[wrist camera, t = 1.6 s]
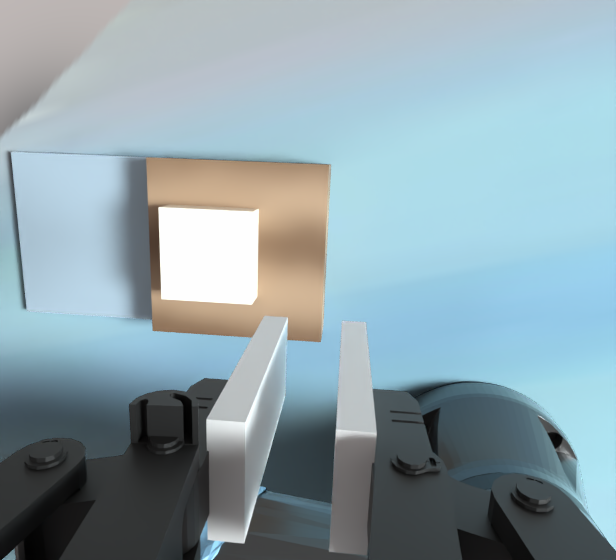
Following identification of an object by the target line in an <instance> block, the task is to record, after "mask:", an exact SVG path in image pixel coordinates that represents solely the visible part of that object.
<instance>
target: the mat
mask: <svg viewBox="0 0 616 560" xmlns="http://www.w3.org/2000/svg"><path fill="white" fill-rule="evenodd" d="M11 158H12V168H13V178H14V188H15V198H16V208H17V218H18V228H19V238H20V248H21V258H22V268H23V278H24V288H25V298H26V308H27V311H29V312H44V313H59V314H75V315H90V316H106V317H121V318H136V319H152V298H151V271H150V244H149V217H148V191H147V164H146V157H130V156H105V155H81V154H56V153H31V152H11ZM150 158H155V157H150Z"/></svg>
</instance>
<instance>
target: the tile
mask: <svg viewBox="0 0 616 560" xmlns="http://www.w3.org/2000/svg"><path fill="white" fill-rule="evenodd" d="M258 223H259V209H252V208H231V207H210V206H189V205H166V206H162V207H159V238H160V269H161V299H167V300H183V301H200V302H216V303H232V304H248V305H252V304H253V302H254V301H255V299H256V298H257V289H258Z"/></svg>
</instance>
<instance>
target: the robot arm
mask: <svg viewBox="0 0 616 560" xmlns="http://www.w3.org/2000/svg"><path fill="white" fill-rule="evenodd" d="M287 329H288V317H275V316H264V317H263V319H262V321H261V323H260V325H259V326H258V328H257V330H256V332H255V334H254V335H253V337H252V339H251V341H250V342H249V344H248V346H247V348H246V350H245V351H244V353H243V355H242V357H241V358H240V360H239V362H238V364H237V366H236V367H235V369H234V371H233V373H232V375H231V376H230V378H229V380H221V379H208V378H204V379H203V380H201V381H199V382H197V383H196V384H194V385H192V386H191V387H190V388H189V390H188V391H187V392H185V391H177V390H163V391H156V392H152V393H147V394H145V395H143V396H140V397H138V398H136V399H135V400H134V401H132V402H131V403H130V404H129V412H130V432H131V444H130V445H129V447H128V449H127V450H126V452H125V454H124V455H120V456H114V457H106V458H98V459H89V460H86V448H85V447H84V446H83V444H82V443H81V442H79V441H76V440H73V439H65V438H52V439H45V440H41V441H40V442H37V443H33V444H30V445H28V446H26V447H24V448H22V449H21V450H19V451H17V452H15V453H14V454H12V455H11V456H10V457H8V458H7V459H5V460H4V461H2V462H1V463H0V560H2V559H3V558H4V557H5V556H6V555H7V554H8V553H10V552H11V551H12V550H13V549H14V548H15V555H16V560H616V551H615V549H614V548H613V547H612V546H611V545H610V544H609V542H608V541H607V539H606V538H605V537H604V535H603V534H602V532H601V531H600V530H599V528H598V527H597V525H596V524H595V522H594V521H593V520H592V518H591V517H590V515H589V513H588V508H587V502H586V497H585V492H584V486H583V481H582V476H581V471H580V466H579V462H578V459H577V457H576V454H575V452H574V449H573V447H572V445H571V444H570V442H569V440H568V438H567V437H566V435H565V434H564V433H563V431H562V430H561V429H560V428H559V426H558V425H557V424H556V422H555V421H554V420H553V419H552V417H551V416H550V415H549V414H548V413H547V412H546V411H545V410H544V409H543V408H542V407H541V406H539V405H538V404H537V403H536V402H534V401H533V400H531V399H530V398H528V397H526V396H525V395H523V394H521V393H519V392H516V391H514V390H511V389H509V388H506V387H502V386H498V385H493V384H487V383H458V384H452V385H447V386H443V387H439V388H436V389H433V390H431V391H428V392H426V393H424V394H422V395H420V396H418V397H416V398H413V397H412V396H411V395H410V394H409V393H408V392H406V391H392V390H378V389H372V379H371V369H370V359H369V348H368V338H367V328H366V322H354V321H342V329H341V346H340V363H339V380H338V397H337V416H336V434H335V453H334V471H333V489H332V503H328V502H323V501H318V500H312V499H307V498H302V497H297V496H291V495H286V494H281V493H276V492H271V491H267V488H265V487H262V486H260V485H261V481H262V478H263V474H264V471H265V467H266V463H267V460H268V456H269V453H270V449H271V446H272V442H273V438H274V435H275V431H276V428H277V424H278V420H279V417H280V413H281V410H282V406H283V402H284V399H285V394H286V362H287Z"/></svg>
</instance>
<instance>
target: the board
mask: <svg viewBox="0 0 616 560" xmlns="http://www.w3.org/2000/svg"><path fill="white" fill-rule="evenodd" d="M146 164H147V191H148V217H149V244H150V271H151V298H152V325H153V331H163V332H178V333H193V334H208V335H223V336H238V337H253V335H254V334H255V332H256V330H257V328H258V326H259V325H260V323H261V321H262V319H263V317H264V316H275V317H288V329H287V340H298V341H313V342H321V337H322V331H323V319H324V298H325V278H326V257H327V237H328V216H329V195H330V175H331V165H327V164H303V163H278V162H253V161H229V160H204V159H179V158H150V157H146ZM166 205H189V206H210V207H231V208H252V209H259V223H258V289H257V298H256V299H255V301H254V302H253V304H252V305H248V304H232V303H216V302H200V301H183V300H167V299H161V269H160V238H159V207H162V206H166Z"/></svg>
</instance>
